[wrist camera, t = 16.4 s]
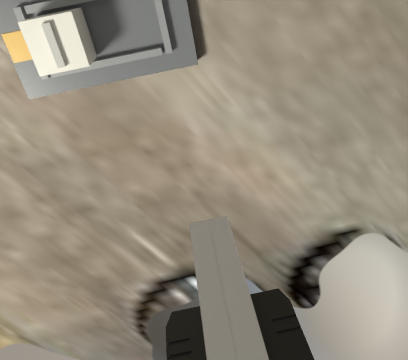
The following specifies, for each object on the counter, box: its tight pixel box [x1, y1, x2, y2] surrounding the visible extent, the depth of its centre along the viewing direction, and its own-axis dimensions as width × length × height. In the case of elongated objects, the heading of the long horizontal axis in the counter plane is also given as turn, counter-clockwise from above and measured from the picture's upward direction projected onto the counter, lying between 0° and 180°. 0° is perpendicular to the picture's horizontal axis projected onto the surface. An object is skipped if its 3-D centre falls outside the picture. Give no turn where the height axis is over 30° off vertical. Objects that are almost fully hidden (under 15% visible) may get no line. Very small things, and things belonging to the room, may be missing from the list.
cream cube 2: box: [18, 7, 97, 77], centre depth 29 cm, size 4×4×4 cm
